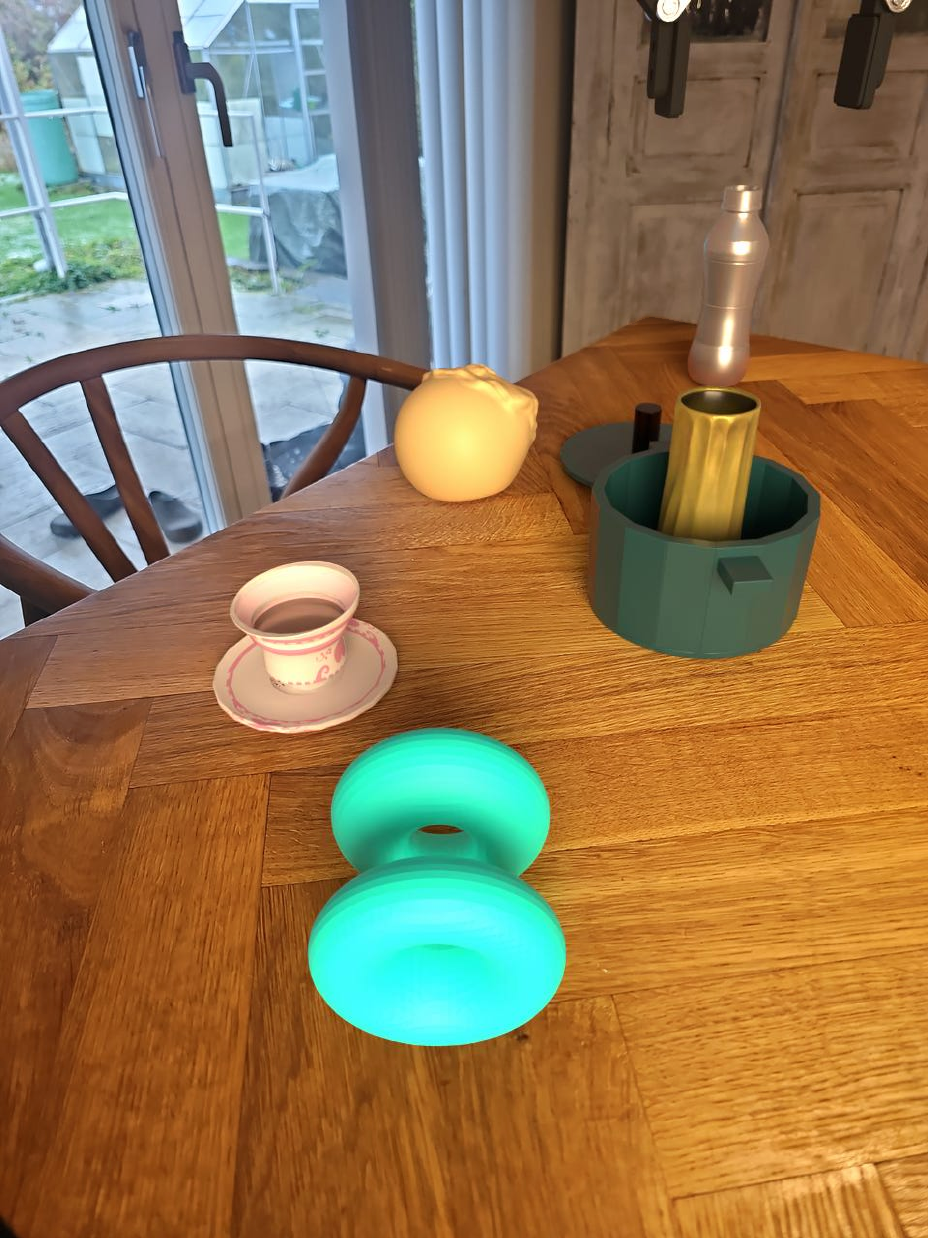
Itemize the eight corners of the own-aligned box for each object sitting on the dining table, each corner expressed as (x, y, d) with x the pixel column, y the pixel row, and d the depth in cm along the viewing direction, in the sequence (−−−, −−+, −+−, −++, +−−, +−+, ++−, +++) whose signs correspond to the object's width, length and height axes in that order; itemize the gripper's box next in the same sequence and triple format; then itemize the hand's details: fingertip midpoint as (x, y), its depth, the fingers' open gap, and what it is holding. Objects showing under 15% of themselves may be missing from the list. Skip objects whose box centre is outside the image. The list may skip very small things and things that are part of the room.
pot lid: (701, 428, 86) (708, 373, 83) (753, 499, 73) (765, 437, 70) (548, 437, 85) (549, 382, 82) (575, 509, 73) (577, 448, 69)
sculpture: (554, 478, 78) (557, 362, 72) (471, 530, 70) (467, 405, 64) (458, 448, 84) (454, 338, 78) (373, 493, 77) (361, 376, 70)
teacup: (348, 755, 49) (335, 673, 46) (176, 713, 53) (151, 633, 49) (426, 638, 58) (421, 561, 55) (275, 608, 62) (260, 534, 58)
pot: (742, 524, 70) (759, 426, 65) (847, 677, 53) (881, 562, 49) (566, 535, 69) (570, 437, 64) (618, 693, 53) (629, 578, 48)
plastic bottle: (698, 369, 100) (723, 180, 88) (754, 380, 97) (788, 185, 85) (675, 386, 96) (698, 190, 84) (733, 398, 92) (765, 195, 81)
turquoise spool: (321, 1062, 35) (283, 913, 29) (347, 864, 43) (322, 716, 37) (564, 1058, 35) (575, 906, 29) (544, 859, 43) (550, 710, 37)
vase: (678, 559, 65) (703, 376, 56) (751, 589, 61) (788, 398, 53) (630, 591, 61) (649, 401, 53) (704, 625, 58) (736, 427, 49)
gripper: (640, -419, 31) (609, 126, 41) (1104, -430, 31) (962, 110, 41) (599, -346, 37) (581, 112, 47) (988, -356, 37) (888, 99, 47)
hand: (759, 111), depth 44 cm, fingers open, 9 cm apart
